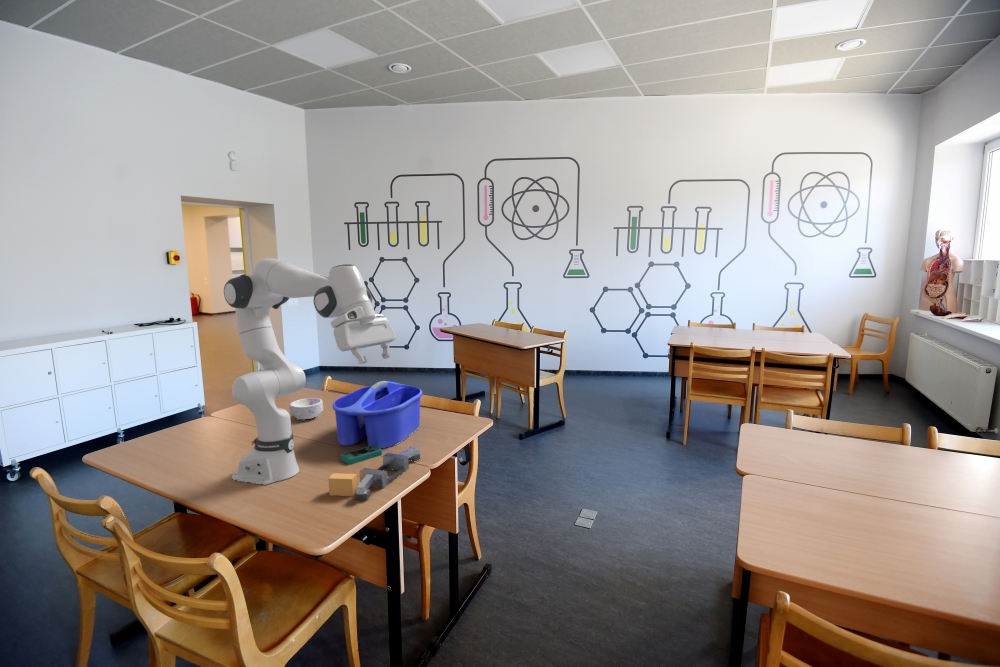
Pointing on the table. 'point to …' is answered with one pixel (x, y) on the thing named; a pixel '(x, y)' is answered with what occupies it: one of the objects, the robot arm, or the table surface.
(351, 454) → the digital multimeter
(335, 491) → the light orange rectangular block
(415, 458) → the grey long piece
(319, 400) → the paper bowls
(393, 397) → the caddy
